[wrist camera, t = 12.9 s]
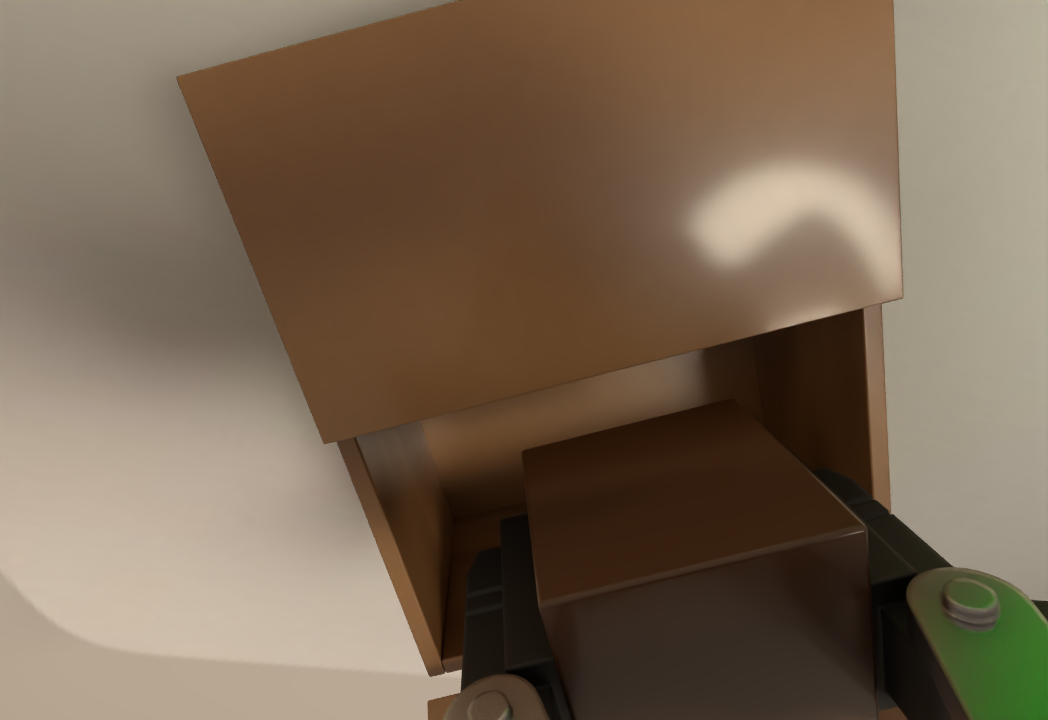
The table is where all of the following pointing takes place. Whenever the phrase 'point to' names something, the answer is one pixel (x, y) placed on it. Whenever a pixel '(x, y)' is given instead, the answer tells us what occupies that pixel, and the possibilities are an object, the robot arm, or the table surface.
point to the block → (699, 574)
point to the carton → (565, 243)
